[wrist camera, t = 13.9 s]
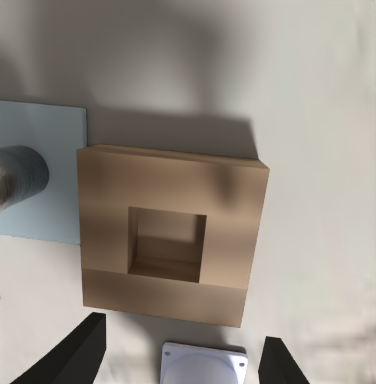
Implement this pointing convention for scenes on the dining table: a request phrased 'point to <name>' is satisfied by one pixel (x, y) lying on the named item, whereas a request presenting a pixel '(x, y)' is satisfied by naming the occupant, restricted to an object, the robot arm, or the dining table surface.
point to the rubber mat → (57, 164)
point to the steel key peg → (21, 174)
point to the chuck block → (168, 231)
